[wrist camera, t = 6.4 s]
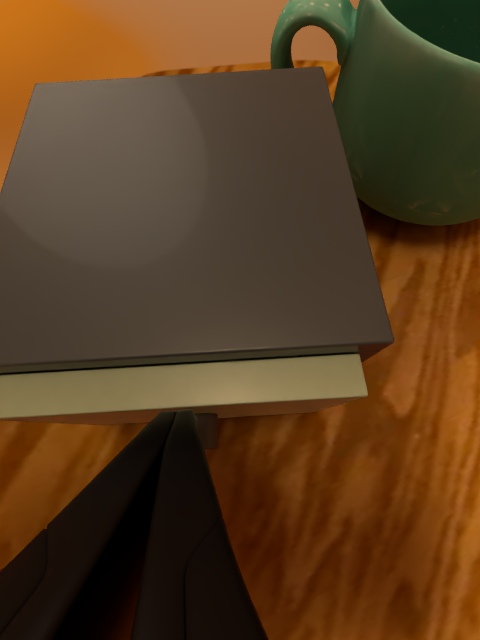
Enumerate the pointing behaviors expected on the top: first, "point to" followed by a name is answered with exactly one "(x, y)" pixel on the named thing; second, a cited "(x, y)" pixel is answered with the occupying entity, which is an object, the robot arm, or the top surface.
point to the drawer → (184, 391)
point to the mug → (403, 100)
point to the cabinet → (183, 226)
